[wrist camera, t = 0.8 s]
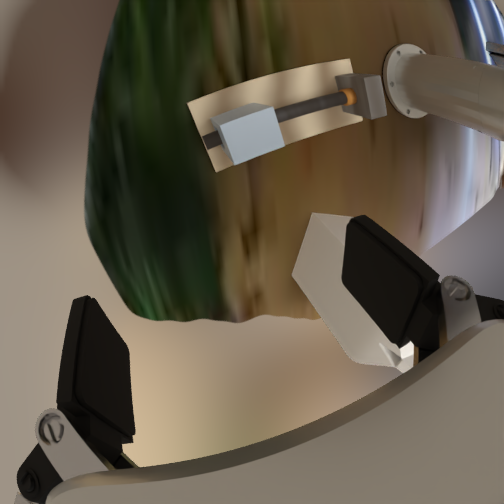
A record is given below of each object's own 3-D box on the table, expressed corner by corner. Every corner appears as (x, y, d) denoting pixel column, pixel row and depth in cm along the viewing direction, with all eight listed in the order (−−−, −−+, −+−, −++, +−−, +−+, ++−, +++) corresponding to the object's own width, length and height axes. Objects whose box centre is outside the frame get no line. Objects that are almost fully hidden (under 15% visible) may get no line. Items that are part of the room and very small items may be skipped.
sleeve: (252, 102, 26) (273, 106, 21) (263, 134, 29) (285, 146, 24) (210, 118, 26) (219, 125, 21) (222, 149, 29) (235, 165, 24)
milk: (370, 219, 43) (479, 325, 23) (347, 273, 49) (429, 383, 28) (312, 212, 39) (432, 350, 19) (291, 275, 45) (371, 412, 25)
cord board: (345, 59, 27) (379, 58, 21) (358, 119, 32) (391, 130, 27) (186, 103, 26) (190, 106, 21) (214, 169, 32) (225, 190, 26)
